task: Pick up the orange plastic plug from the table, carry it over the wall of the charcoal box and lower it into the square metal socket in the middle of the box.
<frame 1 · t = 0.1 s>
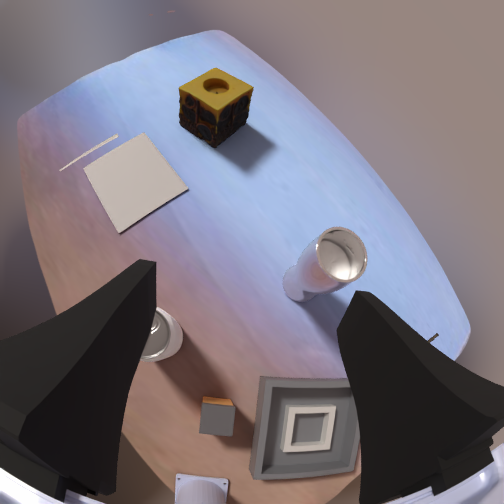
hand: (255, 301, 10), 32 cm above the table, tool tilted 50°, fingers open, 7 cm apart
box: (305, 425, 37), on the table
can: (161, 336, 38), on the table
candle: (213, 124, 52), on the table
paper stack: (101, 178, 45), on the table
beer glass: (299, 283, 44), on the table
plug: (215, 410, 36), on the table
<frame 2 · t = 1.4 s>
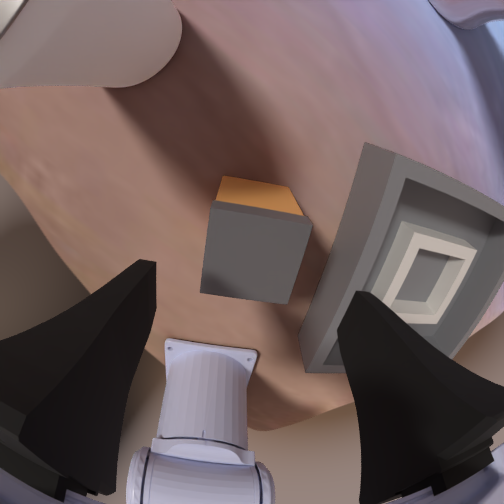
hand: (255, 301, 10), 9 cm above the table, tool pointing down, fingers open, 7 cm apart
box: (414, 268, 20), on the table
can: (132, 40, 12), on the table
plug: (249, 211, 17), on the table
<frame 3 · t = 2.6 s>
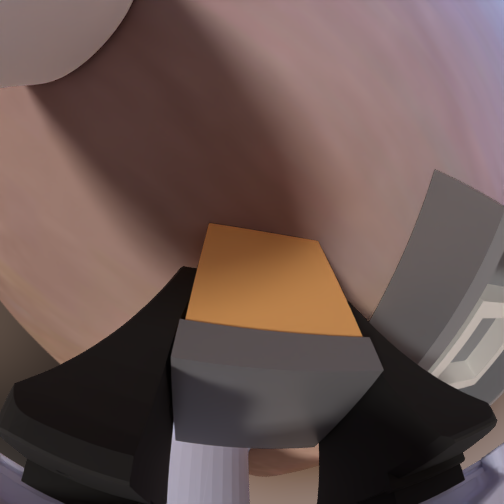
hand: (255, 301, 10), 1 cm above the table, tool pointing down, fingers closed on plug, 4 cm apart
box: (461, 328, 13), on the table
can: (69, 10, 5), on the table
plug: (254, 277, 11), on the table, touching gripper
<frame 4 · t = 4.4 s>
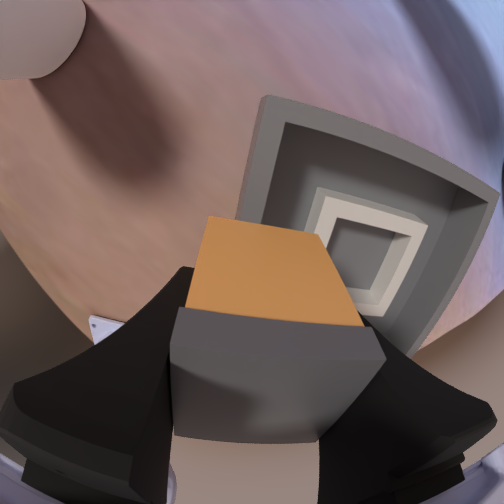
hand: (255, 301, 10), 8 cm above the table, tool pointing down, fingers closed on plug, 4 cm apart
box: (349, 248, 18), on the table
can: (52, 36, 10), on the table
plug: (254, 271, 11), point 7 cm above the table, touching gripper
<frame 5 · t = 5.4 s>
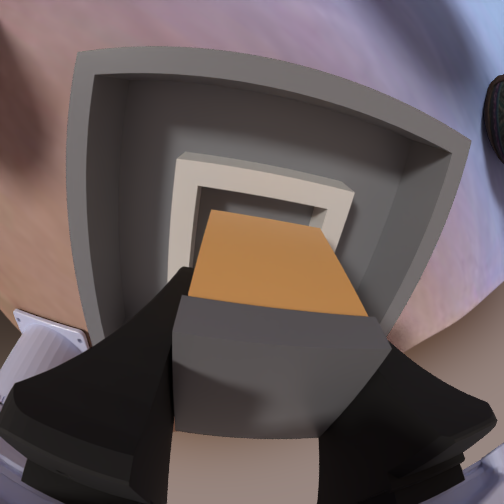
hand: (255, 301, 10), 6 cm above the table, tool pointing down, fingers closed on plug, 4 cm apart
mate gourd: (500, 116, 11), on the table
box: (250, 231, 15), on the table
plug: (256, 266, 11), point 4 cm above the table, touching gripper
when the fingers open (4 cm above the table, at t = 6.2 s): plug drops 1 cm, resting on box.
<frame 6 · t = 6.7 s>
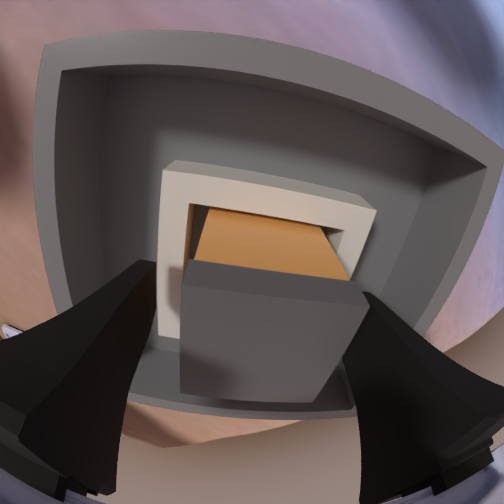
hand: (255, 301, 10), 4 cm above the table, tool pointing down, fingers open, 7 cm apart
box: (252, 251, 13), on the table
plug: (254, 248, 12), point 1 cm above the table, touching box
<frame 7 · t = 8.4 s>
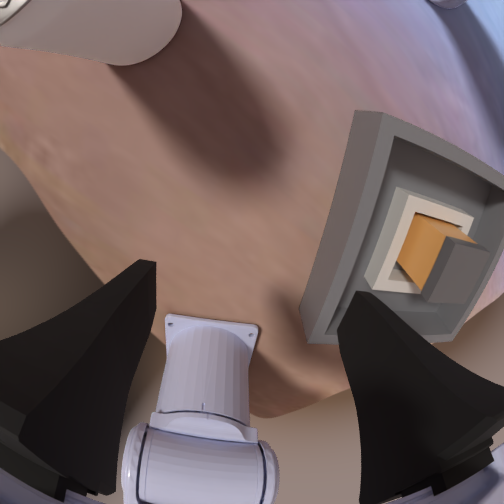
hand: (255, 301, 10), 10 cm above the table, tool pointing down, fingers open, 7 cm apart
box: (413, 238, 20), on the table
can: (136, 24, 12), on the table
plug: (418, 235, 19), point 1 cm above the table, touching box
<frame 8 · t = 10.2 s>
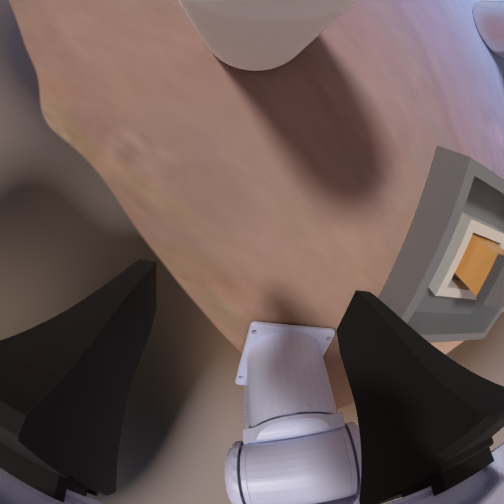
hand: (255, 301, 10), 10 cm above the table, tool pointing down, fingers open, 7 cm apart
box: (462, 252, 21), on the table
can: (254, 28, 13), on the table
beer glass: (491, 29, 10), on the table
plug: (468, 250, 20), point 1 cm above the table, touching box
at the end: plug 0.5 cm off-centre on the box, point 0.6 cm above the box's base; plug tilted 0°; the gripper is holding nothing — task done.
